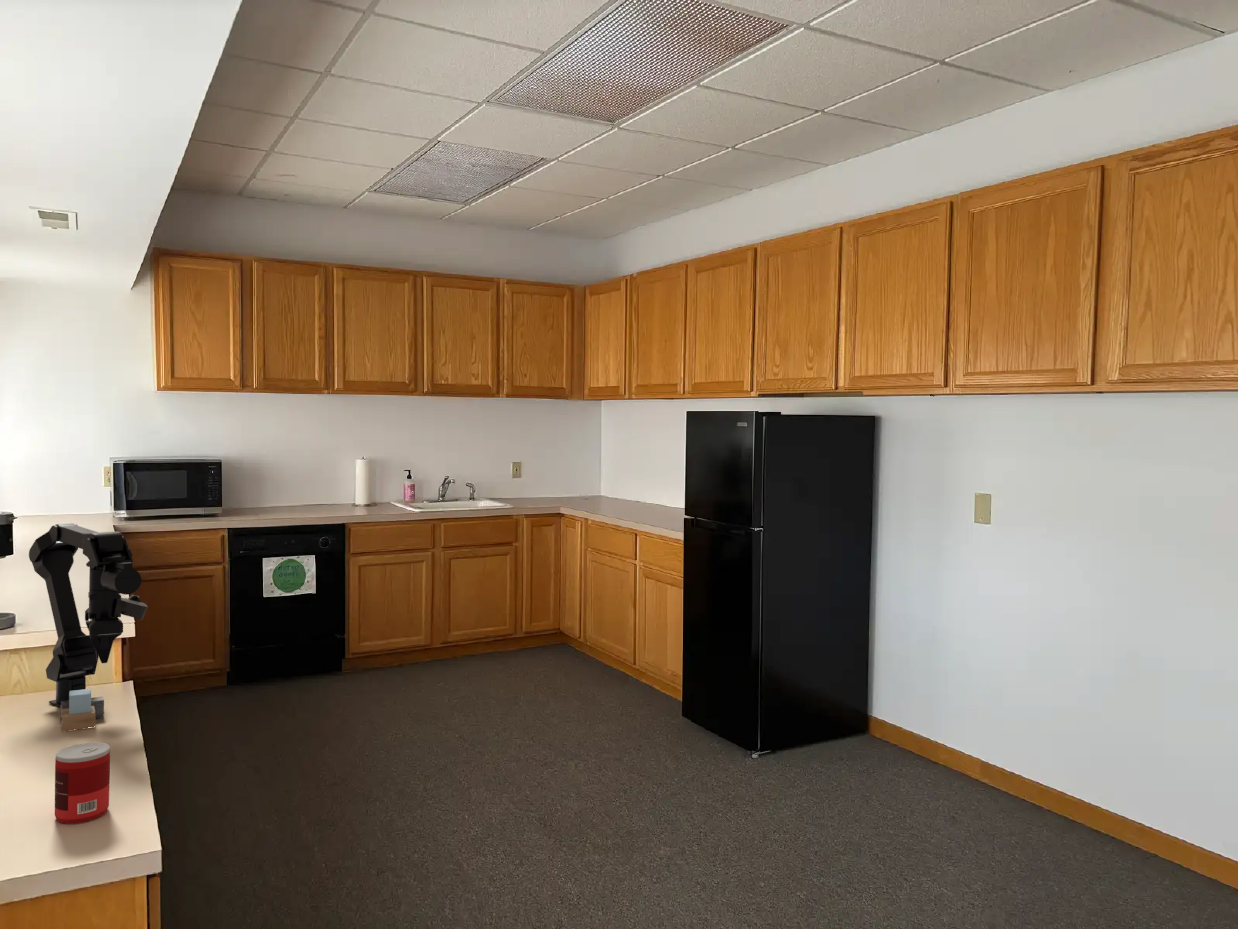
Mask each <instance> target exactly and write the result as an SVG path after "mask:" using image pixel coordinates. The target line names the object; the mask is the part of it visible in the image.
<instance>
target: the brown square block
mask: <svg viewBox="0 0 1238 929" xmlns="http://www.w3.org/2000/svg"><path fill="white" fill-rule="evenodd" d="M95 715H96V713H95V708H94V705H91V712H87V713H78V714H69V708H66V709H62V720H61V719H60V724H61V732H62V733H64V732H63V731H66V732H70V731H69V730H74V729H82V730H84V729H83V728H88V727H94V726H95V727H96V719H95ZM74 731H75V730H74Z"/></svg>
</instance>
